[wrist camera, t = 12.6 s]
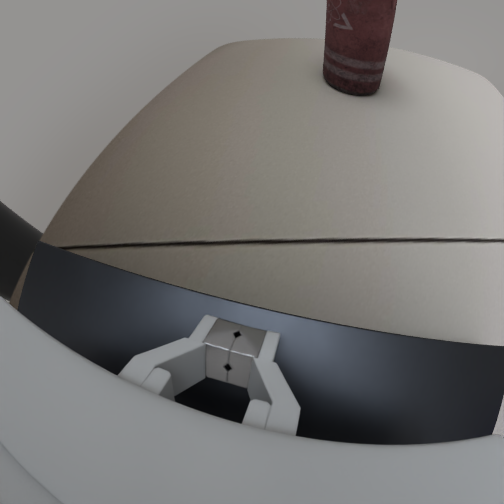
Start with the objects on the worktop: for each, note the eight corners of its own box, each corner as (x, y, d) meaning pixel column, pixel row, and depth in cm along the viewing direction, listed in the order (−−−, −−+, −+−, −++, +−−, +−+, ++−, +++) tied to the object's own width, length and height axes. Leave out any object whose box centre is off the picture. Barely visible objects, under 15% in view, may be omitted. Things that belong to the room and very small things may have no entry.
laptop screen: (46, 244, 15) (37, 240, 14) (503, 347, 9) (512, 346, 9) (19, 476, 9) (12, 478, 8) (378, 592, 3) (381, 597, 2)
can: (365, 105, 21) (389, -27, 8) (311, 79, 23) (313, -43, 10) (389, 86, 22) (411, -22, 9) (340, 63, 24) (348, -40, 11)
